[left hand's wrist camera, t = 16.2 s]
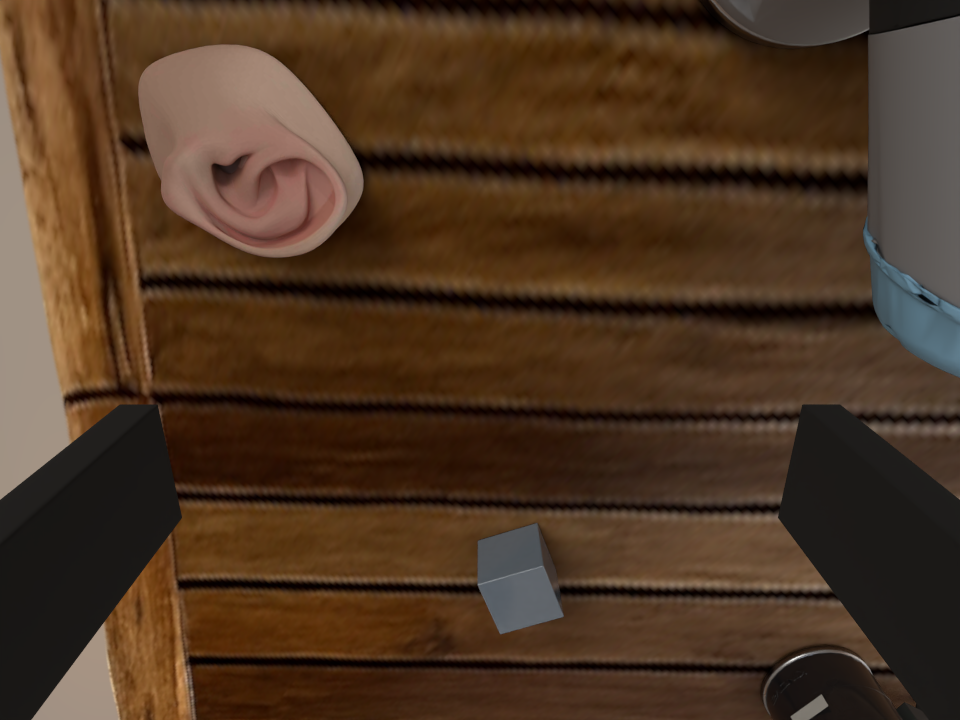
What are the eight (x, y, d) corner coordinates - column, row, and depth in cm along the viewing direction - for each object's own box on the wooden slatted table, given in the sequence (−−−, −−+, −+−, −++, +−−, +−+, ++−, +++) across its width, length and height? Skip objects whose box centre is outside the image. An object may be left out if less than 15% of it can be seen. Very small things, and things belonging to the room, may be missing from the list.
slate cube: (537, 522, 48) (543, 565, 43) (556, 570, 50) (564, 617, 45) (477, 540, 48) (477, 585, 44) (498, 587, 50) (500, 634, 46)
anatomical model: (62, 92, 33) (239, -22, 31) (104, 94, 36) (265, -7, 34) (211, 305, 37) (374, 217, 35) (235, 288, 41) (384, 208, 39)
